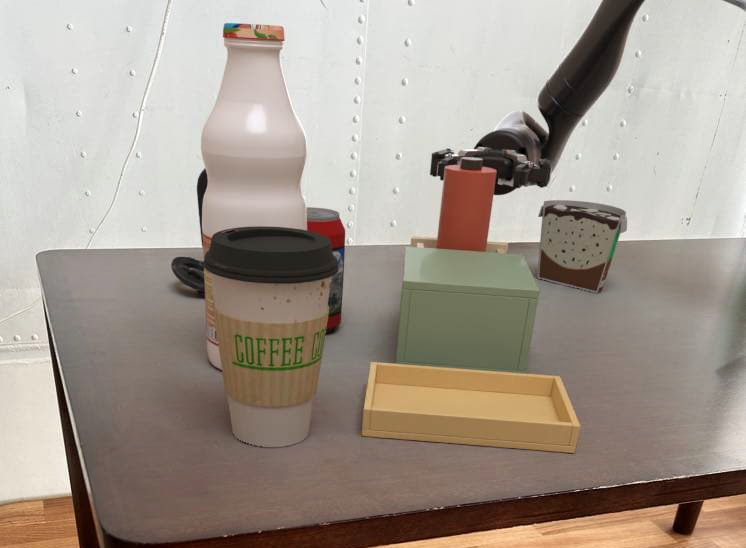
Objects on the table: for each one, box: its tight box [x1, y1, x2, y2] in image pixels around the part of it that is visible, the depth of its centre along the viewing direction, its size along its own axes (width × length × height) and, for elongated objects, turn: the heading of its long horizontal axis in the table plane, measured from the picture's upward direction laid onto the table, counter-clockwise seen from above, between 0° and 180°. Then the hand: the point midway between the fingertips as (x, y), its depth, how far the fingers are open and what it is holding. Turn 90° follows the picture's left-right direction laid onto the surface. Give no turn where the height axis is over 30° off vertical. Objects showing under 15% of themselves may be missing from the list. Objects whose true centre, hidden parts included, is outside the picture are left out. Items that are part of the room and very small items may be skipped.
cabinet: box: [395, 246, 541, 374], centre depth 84 cm, size 15×13×9 cm
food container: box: [536, 199, 628, 294], centre depth 111 cm, size 12×6×10 cm, turn 46°
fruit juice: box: [200, 22, 308, 371], centre depth 73 cm, size 9×9×28 cm
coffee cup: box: [202, 226, 339, 448], centre depth 62 cm, size 10×10×15 cm
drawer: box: [409, 235, 509, 254], centre depth 95 cm, size 18×11×7 cm, turn 175°
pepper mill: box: [436, 157, 497, 252], centre depth 92 cm, size 6×6×15 cm
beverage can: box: [306, 206, 346, 333], centre depth 87 cm, size 7×7×12 cm
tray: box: [361, 361, 581, 454], centre depth 70 cm, size 17×11×2 cm, turn 85°
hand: (480, 174), depth 93 cm, fingers open, 8 cm apart
